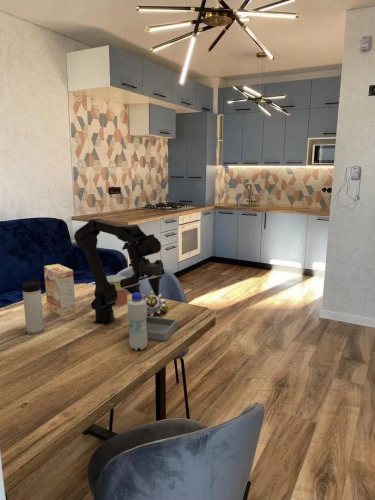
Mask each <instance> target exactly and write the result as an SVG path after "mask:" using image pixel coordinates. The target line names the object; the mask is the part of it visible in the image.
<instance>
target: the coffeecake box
mask: <svg viewBox="0 0 375 500" xmlns="http://www.w3.org/2000/svg"><path fill="white" fill-rule="evenodd" d="M43 273H44V284H45V285H44V287H45V297H46V308H47V309H48V308H49V310H50V311H51V312H54V313H55V314H56V315H58V316H60V317H65V316H69V315H72V314H76V313H77V312H76V311H77V310H76V309H77V308H76V299H75V298H76V296H75V282H74V270H73V269H71V268H69V267H67V266H64V265H62V264H60V263H56V264H51V265H50V264H48V265H45V266H43Z"/></svg>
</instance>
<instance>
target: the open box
mask: <svg viewBox="0 0 375 500" xmlns="http://www.w3.org/2000/svg"><path fill="white" fill-rule="evenodd" d="M179 325H180V323H179V319H174V318H166V317H159V316H150V315H146V326H147V339H148V340H151V341H156V342H162V343H165V342H167V341H168V339H169V338H170V337H171V336H172V335H173V333H175V332H176V331H177V329H178V328H179V327H180V326H179Z"/></svg>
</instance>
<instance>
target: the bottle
mask: <svg viewBox="0 0 375 500" xmlns="http://www.w3.org/2000/svg"><path fill="white" fill-rule="evenodd" d="M142 295H143V294H142V293H141V292H140V293H139V292H135V293H133V294H131V300H128V302H127V316H128V328H129V329H128V330H129V333H128V334H129V335H128V336H129V337H128V339H129V340H128V341H129V346H130V349H131V350H135V351H138V349H140V351H143V350H144V349H146V348H147V346H148V340H149V339H147V326H146V316H148V314H147V306H146V301H145V300H142Z"/></svg>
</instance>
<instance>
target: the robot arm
mask: <svg viewBox="0 0 375 500" xmlns="http://www.w3.org/2000/svg"><path fill="white" fill-rule="evenodd" d="M101 232H102V233H104V234H105V233H106V234H109V235H112V236H115V237H116V238H117V240H120V241H121V242H124V245H123V246H122V247H121V249H122V251H123V250H126V251H127V255H128V258H129V261H130V263H128V266H129V267H131V268H132V272H133V274H131V276H128V277H126V278H125V279H122V280H120V286H121V288H122V287H125V288H124V289H127V292H128V293H130V294H131V295H132V294H133V293H135V292H139V293H141V291H140V286H141V283H139V281H142V280H143V281H144V280H145V279H147V281H148V284H149V285H150V288H151V290H152V291H153V293H154V295H156V296H159V294H160V281H161V279H162V278H163V277H164V274H166V273H165V270H164V269H165V268H164V263H163V261H162V259H157V260H155V261H153V262H151V261H150V259H149V258H146V257H147V256H152V255H155V254H159V253H160V251H161V250H162V244H161V241H160V240H159V239H158V238H157V237H155V233H152V234H149V235H147V234H146V233H145V232H144V231H143V230H142V229H141V228H140V226H139V225H137V224H121V223H115V222H112V221H108V220H103V219H101V218H93V219H90V220H89V221H88V222H86V223H85V224H83V225H82V226H81V227H80V228H78V229H77V230H75V233H74V235H73V237H74V241H75V242H76V245H77V247H78V248H79V249H80V250H82V251H83V253H84V255H85V259H86V261H87V264H88V267H89V269H90V273H91V276H92V279H93V282H94V284H95V288H94V297H95V298H94V299H93V301H92V302H91V303H90V306H91V309H93V310H94V313H95V319H94V321H93V323H94V324H100V325H109V324H111V323H112V322H114V320H115V319H116V318H115V315H114V313H115V312H114V309H113V307H112V306H113V305H115V303H116V300H117V298H118V297H117V293H118V292H117V291H116V288H115V285H114V284H110V283H109V282H108V281H107V278H106V276H107V275H106V273H105V270H104V267H103V264H102V261H101V258H100V255H99V252H98V249H97V245H98V241H99V240H98V236H99V234H101Z"/></svg>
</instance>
